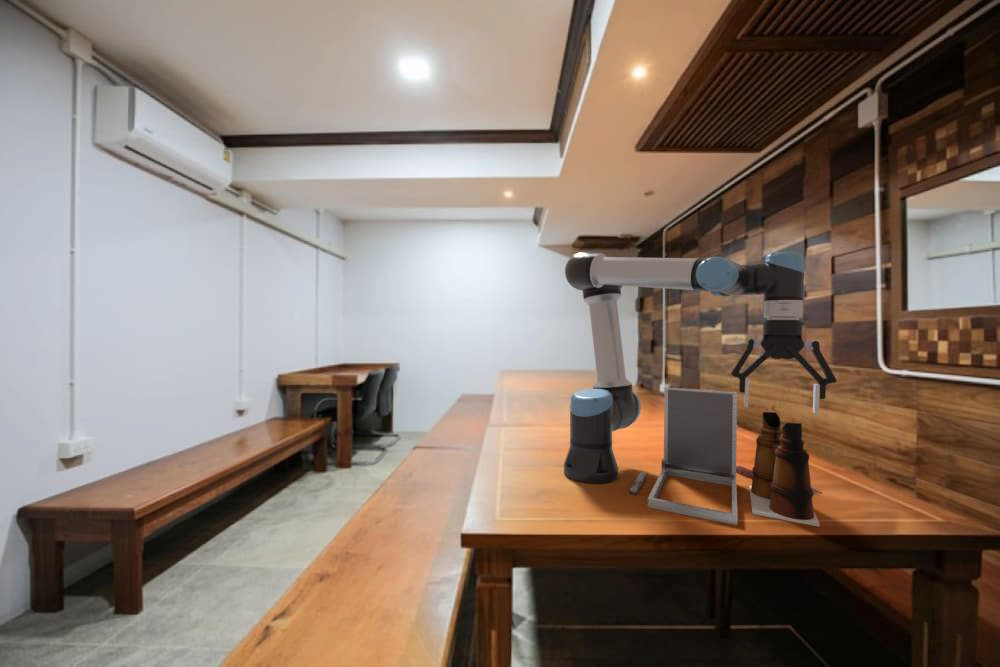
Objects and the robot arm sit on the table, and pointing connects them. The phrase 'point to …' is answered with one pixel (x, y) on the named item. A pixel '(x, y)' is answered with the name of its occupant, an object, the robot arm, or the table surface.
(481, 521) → the table surface
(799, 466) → the binoculars
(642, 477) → the rod
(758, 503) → the mat
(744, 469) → the pliers
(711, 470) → the case
